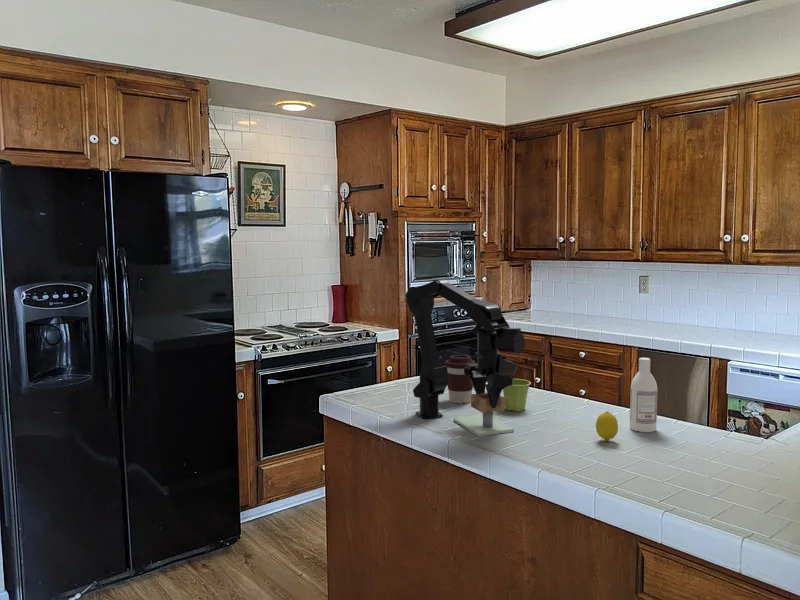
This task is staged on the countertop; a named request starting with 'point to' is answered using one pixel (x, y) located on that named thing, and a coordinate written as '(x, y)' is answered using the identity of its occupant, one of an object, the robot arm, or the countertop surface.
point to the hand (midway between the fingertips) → (487, 404)
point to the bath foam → (643, 399)
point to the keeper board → (478, 425)
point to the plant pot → (516, 395)
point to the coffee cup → (459, 379)
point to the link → (486, 403)
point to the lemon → (606, 426)
